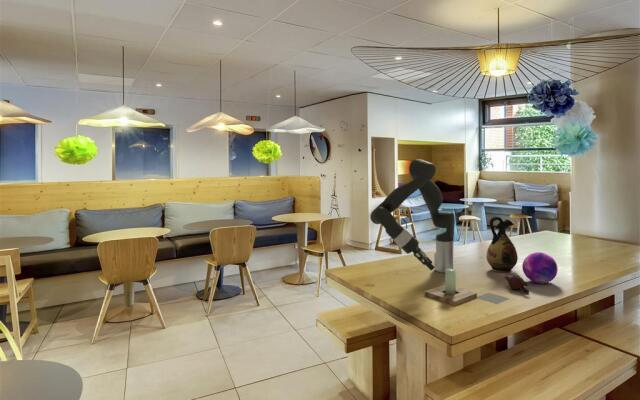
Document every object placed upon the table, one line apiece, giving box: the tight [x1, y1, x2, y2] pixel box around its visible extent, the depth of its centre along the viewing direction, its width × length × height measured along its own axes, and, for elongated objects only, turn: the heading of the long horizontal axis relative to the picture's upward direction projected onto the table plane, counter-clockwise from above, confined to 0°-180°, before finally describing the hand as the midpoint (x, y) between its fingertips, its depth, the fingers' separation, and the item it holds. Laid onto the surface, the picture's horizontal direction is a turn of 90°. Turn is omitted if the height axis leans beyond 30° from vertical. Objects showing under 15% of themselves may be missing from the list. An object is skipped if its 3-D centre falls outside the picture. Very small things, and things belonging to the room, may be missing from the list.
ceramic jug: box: [485, 215, 519, 274], centre depth 208 cm, size 17×15×30 cm
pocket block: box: [424, 284, 478, 306], centre depth 171 cm, size 16×16×2 cm
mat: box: [476, 292, 510, 305], centre depth 167 cm, size 10×10×1 cm
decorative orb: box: [521, 251, 559, 284], centre depth 187 cm, size 15×15×15 cm
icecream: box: [503, 275, 530, 294], centre depth 179 cm, size 7×7×15 cm
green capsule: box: [444, 268, 457, 295], centre depth 171 cm, size 4×4×12 cm
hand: (431, 266), depth 171 cm, fingers open, 8 cm apart
